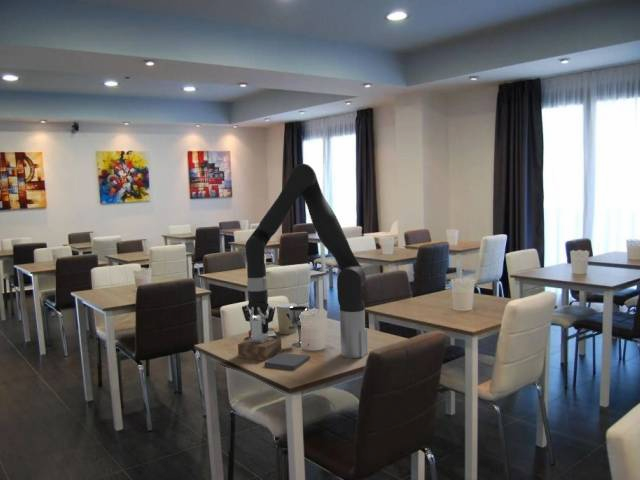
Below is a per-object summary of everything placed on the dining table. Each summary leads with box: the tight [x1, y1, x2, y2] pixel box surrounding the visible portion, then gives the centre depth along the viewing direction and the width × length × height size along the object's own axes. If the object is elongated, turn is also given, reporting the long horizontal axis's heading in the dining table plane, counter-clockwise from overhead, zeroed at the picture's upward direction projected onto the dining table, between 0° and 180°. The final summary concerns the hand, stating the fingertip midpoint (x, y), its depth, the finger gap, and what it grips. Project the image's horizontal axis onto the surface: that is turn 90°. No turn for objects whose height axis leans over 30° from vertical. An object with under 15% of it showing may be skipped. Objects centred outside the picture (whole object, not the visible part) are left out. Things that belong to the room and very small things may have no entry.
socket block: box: [237, 337, 283, 361], centre depth 205 cm, size 12×12×5 cm
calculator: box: [248, 327, 278, 339], centre depth 224 cm, size 11×4×15 cm
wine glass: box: [289, 305, 310, 348], centre depth 215 cm, size 8×8×15 cm
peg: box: [250, 317, 268, 344], centre depth 204 cm, size 4×4×12 cm
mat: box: [264, 352, 311, 371], centre depth 193 cm, size 12×12×2 cm
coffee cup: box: [276, 302, 298, 335], centre depth 236 cm, size 9×9×12 cm
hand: (259, 332), depth 204 cm, fingers closed on peg, 4 cm apart
